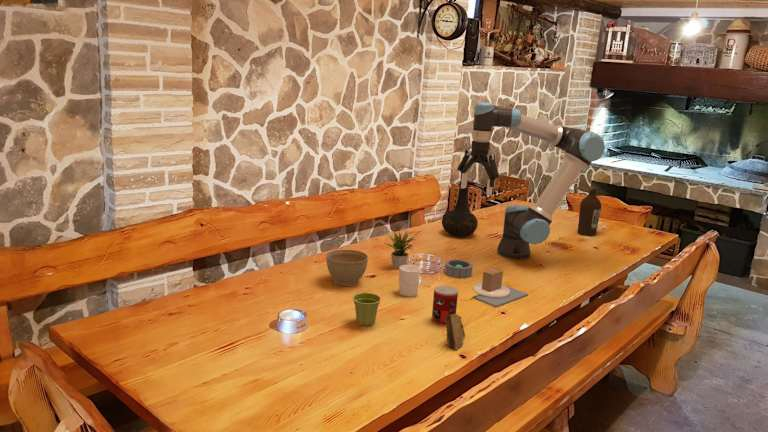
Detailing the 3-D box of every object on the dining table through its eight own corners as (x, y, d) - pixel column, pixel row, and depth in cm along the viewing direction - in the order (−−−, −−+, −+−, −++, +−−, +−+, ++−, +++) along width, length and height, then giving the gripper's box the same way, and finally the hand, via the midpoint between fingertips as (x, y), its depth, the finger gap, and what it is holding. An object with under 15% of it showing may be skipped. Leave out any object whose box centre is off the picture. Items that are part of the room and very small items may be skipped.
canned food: (430, 314, 215) (432, 285, 212) (452, 315, 216) (455, 285, 213) (433, 324, 207) (436, 293, 205) (457, 324, 208) (460, 294, 205)
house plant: (413, 276, 250) (416, 238, 246) (379, 272, 253) (382, 234, 249) (418, 265, 264) (421, 228, 260) (386, 261, 266) (389, 225, 262)
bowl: (456, 269, 263) (457, 257, 261) (477, 276, 255) (478, 265, 254) (439, 274, 255) (440, 262, 254) (459, 282, 248) (460, 270, 246)
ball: (457, 271, 257) (458, 262, 256) (464, 273, 255) (465, 265, 254) (452, 272, 255) (452, 264, 254) (458, 275, 252) (459, 266, 251)
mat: (486, 279, 252) (486, 278, 252) (527, 295, 238) (528, 293, 238) (454, 290, 239) (454, 288, 239) (496, 307, 225) (496, 305, 225)
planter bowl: (372, 279, 245) (374, 252, 242) (357, 292, 230) (359, 265, 228) (335, 272, 250) (336, 246, 247) (318, 285, 235) (319, 258, 233)
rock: (455, 324, 203) (433, 326, 197) (471, 310, 198) (448, 312, 192) (470, 353, 198) (447, 357, 192) (486, 339, 193) (463, 343, 186)
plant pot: (346, 324, 203) (347, 300, 201) (358, 314, 212) (359, 290, 210) (373, 330, 200) (374, 305, 198) (383, 319, 209) (385, 295, 206)
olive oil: (572, 232, 329) (579, 186, 323) (582, 229, 337) (589, 184, 330) (590, 237, 322) (598, 190, 316) (600, 234, 329) (607, 188, 323)
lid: (487, 282, 248) (489, 262, 246) (516, 293, 238) (519, 272, 236) (465, 289, 238) (467, 269, 236) (494, 301, 229) (497, 280, 227)
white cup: (416, 298, 228) (418, 272, 226) (395, 295, 230) (397, 270, 227) (420, 291, 236) (422, 266, 233) (399, 288, 237) (401, 263, 235)
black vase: (441, 228, 323) (446, 175, 316) (476, 231, 321) (481, 178, 313) (439, 238, 306) (444, 182, 298) (476, 241, 303) (482, 185, 296)
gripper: (451, 137, 261) (447, 186, 266) (500, 145, 244) (494, 198, 249) (463, 136, 266) (459, 184, 271) (511, 144, 249) (505, 196, 254)
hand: (476, 191), depth 260 cm, fingers open, 13 cm apart
